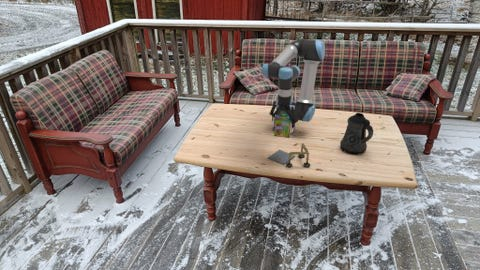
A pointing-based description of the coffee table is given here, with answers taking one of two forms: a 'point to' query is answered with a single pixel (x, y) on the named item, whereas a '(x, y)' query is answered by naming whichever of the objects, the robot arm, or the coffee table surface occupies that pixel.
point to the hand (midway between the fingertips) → (282, 129)
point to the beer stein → (356, 135)
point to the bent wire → (300, 155)
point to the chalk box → (282, 125)
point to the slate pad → (280, 157)
